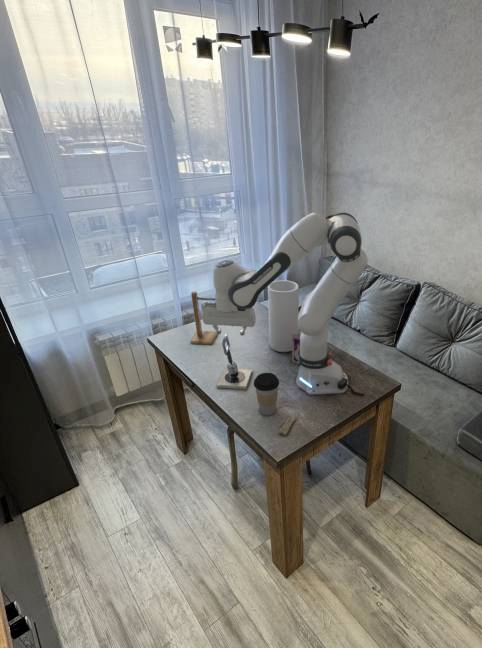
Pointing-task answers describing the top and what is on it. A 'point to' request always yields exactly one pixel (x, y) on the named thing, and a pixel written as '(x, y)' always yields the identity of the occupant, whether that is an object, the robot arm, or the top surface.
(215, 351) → the top surface
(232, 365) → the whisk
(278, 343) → the vase
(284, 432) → the snack bar
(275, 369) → the top surface
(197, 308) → the hook stand
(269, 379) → the coffee cup
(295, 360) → the greeting card
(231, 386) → the hot plate
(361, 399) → the top surface
